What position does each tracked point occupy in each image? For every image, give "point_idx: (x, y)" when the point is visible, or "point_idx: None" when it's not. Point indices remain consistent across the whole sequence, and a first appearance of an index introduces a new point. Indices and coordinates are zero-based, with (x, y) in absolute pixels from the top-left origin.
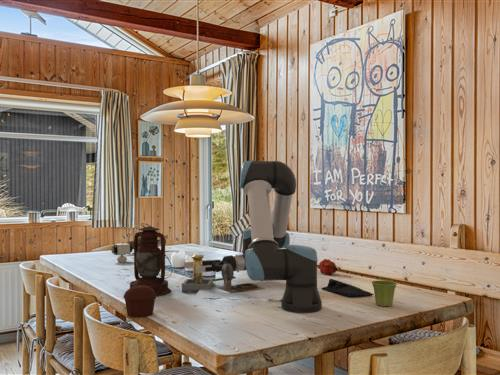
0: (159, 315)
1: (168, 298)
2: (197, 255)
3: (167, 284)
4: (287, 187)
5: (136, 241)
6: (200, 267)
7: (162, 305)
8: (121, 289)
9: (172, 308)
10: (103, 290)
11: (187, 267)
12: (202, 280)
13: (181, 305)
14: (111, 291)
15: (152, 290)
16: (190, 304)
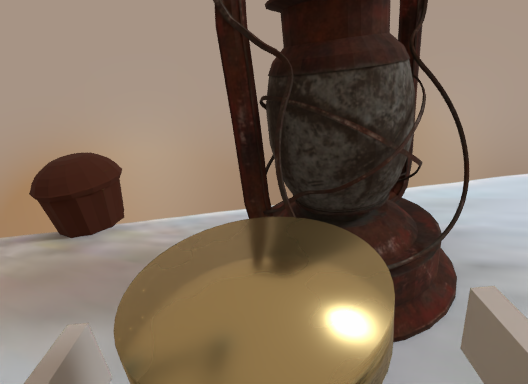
0: (37, 244)
1: None
2: (261, 277)
3: None
4: None
5: (400, 3)
6: (54, 359)
7: (110, 264)
8: (433, 211)
9: (48, 277)
10: (423, 186)
11: (484, 373)
12: None
13: (41, 307)
14: None
15: (37, 178)
16: (9, 338)
